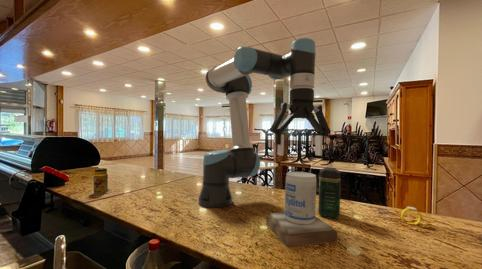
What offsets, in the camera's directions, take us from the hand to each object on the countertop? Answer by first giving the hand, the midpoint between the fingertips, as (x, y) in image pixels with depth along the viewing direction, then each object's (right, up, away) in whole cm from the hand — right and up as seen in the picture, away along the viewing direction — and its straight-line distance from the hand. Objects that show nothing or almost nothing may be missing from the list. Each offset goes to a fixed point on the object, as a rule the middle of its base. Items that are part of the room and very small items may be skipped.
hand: (299, 155), depth 71 cm
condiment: (-91, -23, +41) cm, 102 cm away
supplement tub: (0, -21, 0) cm, 21 cm away
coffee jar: (+16, -25, +16) cm, 34 cm away
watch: (+43, -26, +9) cm, 51 cm away
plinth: (0, -25, 0) cm, 25 cm away
